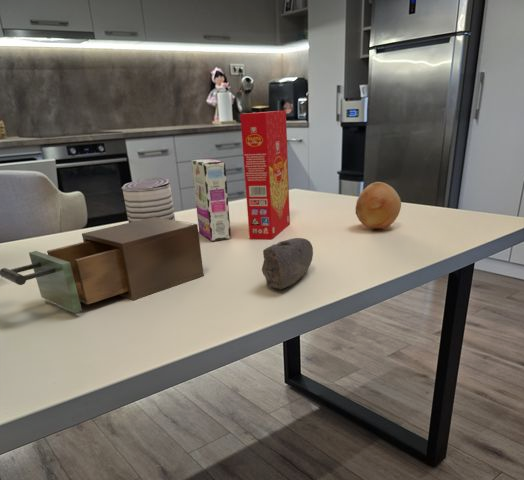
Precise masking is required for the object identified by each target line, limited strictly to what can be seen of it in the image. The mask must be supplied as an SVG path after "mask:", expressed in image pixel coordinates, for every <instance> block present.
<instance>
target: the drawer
mask: <svg viewBox="0 0 524 480" xmlns="http://www.w3.org/2000/svg"><path fill="white" fill-rule="evenodd" d="M46 252H47V254H46V253H43V252H41V251H38V250H34V251H29V252H28V256H29V258H30V261H31V264H27V265H23V266H19V267H15V268H12V269H9V268H7V267H3V268H1V269H0V277H2V278H3V279H6V280H8V281H10V282H12V283H14V284H16V285H19V286H23V285H25V284H26V283H27V281H29V280H33V279H36V283H37V286H38V291H39V294H40V297H41V298H43V299H45V300H47V301H49V302H51V303H52V304H55V305H57V306H59V307H61V308H63V309H66V310H68V311H69V312H72V313H74V314H76V313H79V312H82V311H83V309H82V305H81V303H83V304H85V305H91V304H94V303H97V302H100V301H103V300H106V299H110V298H112V297H116V296H119V295H118V294H121V293H124V292H127V291H129V290H128V285H127V280H126V275H125V270H124V265H123V260H122V255H121V250H120V248H119V247H115V246H111V245H107V244H103V243H100V242H96V241H92V240H90V241H86V242H83V241H82V242H77V243H73V244H69V245H65V246H61V247H56V248H53V249H49V250H46ZM31 270H33V273H28V274H24V275H23V274H21V273H22V272H23V273H24V272H26V271H31Z"/></svg>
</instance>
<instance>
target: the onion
mask: <svg viewBox="0 0 524 480" xmlns="http://www.w3.org/2000/svg"><path fill="white" fill-rule="evenodd" d="M401 209H402V200H401V197H400V195H399V194H398V192H397V191H396V190H395V188H394V187H392V185H390V184H387V183H385V182H382V181H375V182H372V183H370V184H369V185H367V186H366V187H365V188H364V189H362V191H361V192H360V194H359V196H358V198H357V200H356V204H355V215H356V217H357V219H358V221H359V222H360V223H361V224H362V225H363V226H364V227H366V228H368V229H387V228H388V227H390V226H391V225H392V224H393V223H394V222H395V221H396V220H397V218H398V217H399V215H400V212H401Z"/></svg>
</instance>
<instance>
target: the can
mask: <svg viewBox="0 0 524 480" xmlns="http://www.w3.org/2000/svg"><path fill="white" fill-rule="evenodd" d="M170 181H171V178H164V177H151V178H144V179H138V180H134V181H131V182H127V183H125V184H123V186H122V187H121V189H122V194H123V200H124V205H125V211H126V216H127V221H128V222H127V223H130V222H135V221H139V220H143V219H148V218H152V217H157V218H163V219H169V220H175V221H176V217H175V209H174V202H173V196H172V195H173V194H172V187H171V183H169V182H170Z"/></svg>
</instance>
